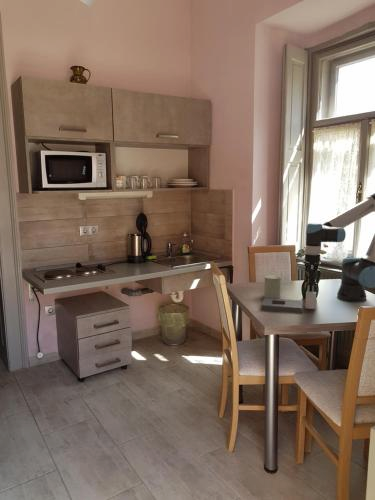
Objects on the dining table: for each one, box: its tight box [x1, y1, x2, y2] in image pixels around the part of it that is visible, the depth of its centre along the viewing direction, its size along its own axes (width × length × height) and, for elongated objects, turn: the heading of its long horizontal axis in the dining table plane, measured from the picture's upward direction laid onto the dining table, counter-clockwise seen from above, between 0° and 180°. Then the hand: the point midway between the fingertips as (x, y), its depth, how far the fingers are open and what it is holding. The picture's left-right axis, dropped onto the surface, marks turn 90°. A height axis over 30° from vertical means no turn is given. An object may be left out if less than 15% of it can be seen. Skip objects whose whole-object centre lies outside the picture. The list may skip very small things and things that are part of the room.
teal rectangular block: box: [305, 290, 317, 310], centre depth 206 cm, size 5×4×8 cm
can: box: [263, 274, 282, 299], centre depth 227 cm, size 9×9×12 cm
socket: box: [260, 297, 304, 314], centre depth 207 cm, size 20×14×2 cm
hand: (310, 294), depth 205 cm, fingers open, 13 cm apart
